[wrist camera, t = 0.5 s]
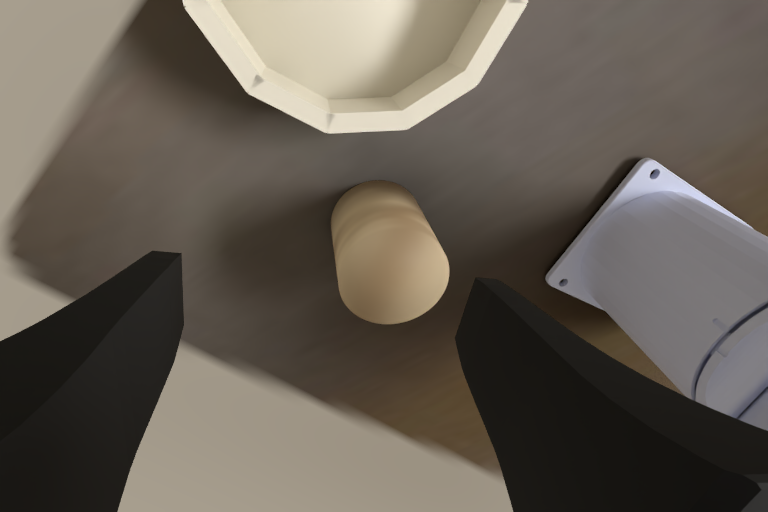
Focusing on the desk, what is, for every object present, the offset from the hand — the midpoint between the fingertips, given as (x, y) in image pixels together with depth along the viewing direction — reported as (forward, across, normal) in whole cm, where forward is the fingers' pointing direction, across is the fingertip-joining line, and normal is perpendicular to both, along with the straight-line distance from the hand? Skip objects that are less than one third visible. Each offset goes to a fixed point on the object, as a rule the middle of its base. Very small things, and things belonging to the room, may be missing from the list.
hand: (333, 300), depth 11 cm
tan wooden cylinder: (+10, -3, +3) cm, 11 cm away
